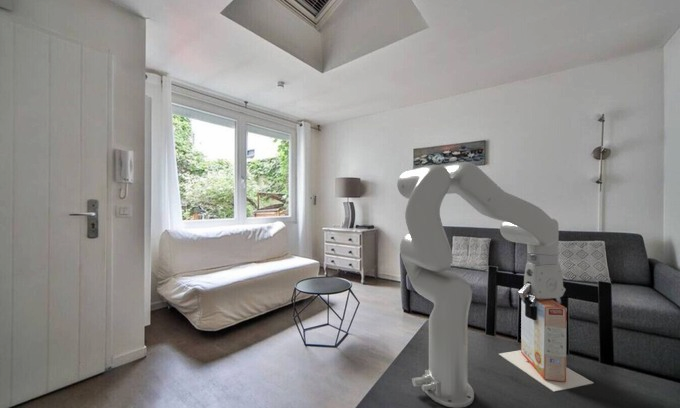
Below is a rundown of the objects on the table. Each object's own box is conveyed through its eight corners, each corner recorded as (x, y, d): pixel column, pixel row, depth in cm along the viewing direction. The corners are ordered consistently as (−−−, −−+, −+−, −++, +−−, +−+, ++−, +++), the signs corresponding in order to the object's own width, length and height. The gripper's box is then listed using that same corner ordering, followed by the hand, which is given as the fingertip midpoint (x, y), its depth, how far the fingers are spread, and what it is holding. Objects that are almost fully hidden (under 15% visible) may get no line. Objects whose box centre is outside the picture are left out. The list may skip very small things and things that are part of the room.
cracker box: (568, 383, 74) (568, 307, 74) (543, 380, 75) (543, 305, 75) (540, 354, 88) (540, 290, 87) (520, 352, 89) (520, 289, 89)
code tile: (553, 391, 71) (553, 390, 71) (498, 354, 88) (498, 353, 88) (593, 383, 74) (593, 382, 74) (532, 348, 92) (532, 348, 92)
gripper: (530, 263, 75) (530, 325, 76) (578, 259, 80) (577, 319, 80) (508, 257, 83) (508, 314, 83) (552, 255, 87) (552, 309, 87)
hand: (542, 316), depth 81 cm, fingers closed on cracker box, 8 cm apart
